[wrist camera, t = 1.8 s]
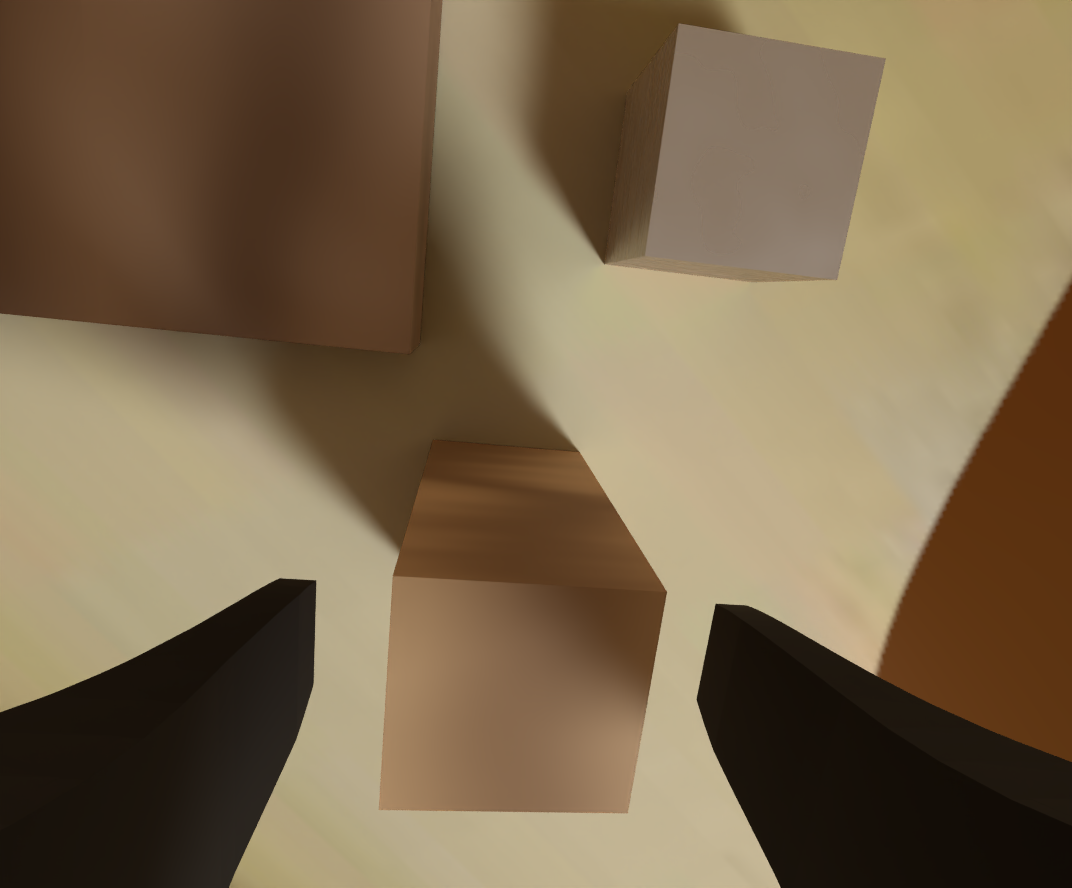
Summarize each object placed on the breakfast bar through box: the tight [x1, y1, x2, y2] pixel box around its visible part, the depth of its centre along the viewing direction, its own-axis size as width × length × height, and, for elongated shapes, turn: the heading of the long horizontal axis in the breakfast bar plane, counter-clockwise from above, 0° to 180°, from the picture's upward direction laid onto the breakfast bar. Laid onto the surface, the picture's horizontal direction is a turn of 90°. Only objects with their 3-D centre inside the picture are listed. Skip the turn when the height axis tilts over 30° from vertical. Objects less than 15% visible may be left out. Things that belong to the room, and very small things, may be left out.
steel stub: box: [604, 23, 885, 282], centre depth 13 cm, size 4×4×4 cm
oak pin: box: [379, 440, 667, 813], centre depth 13 cm, size 4×4×8 cm
